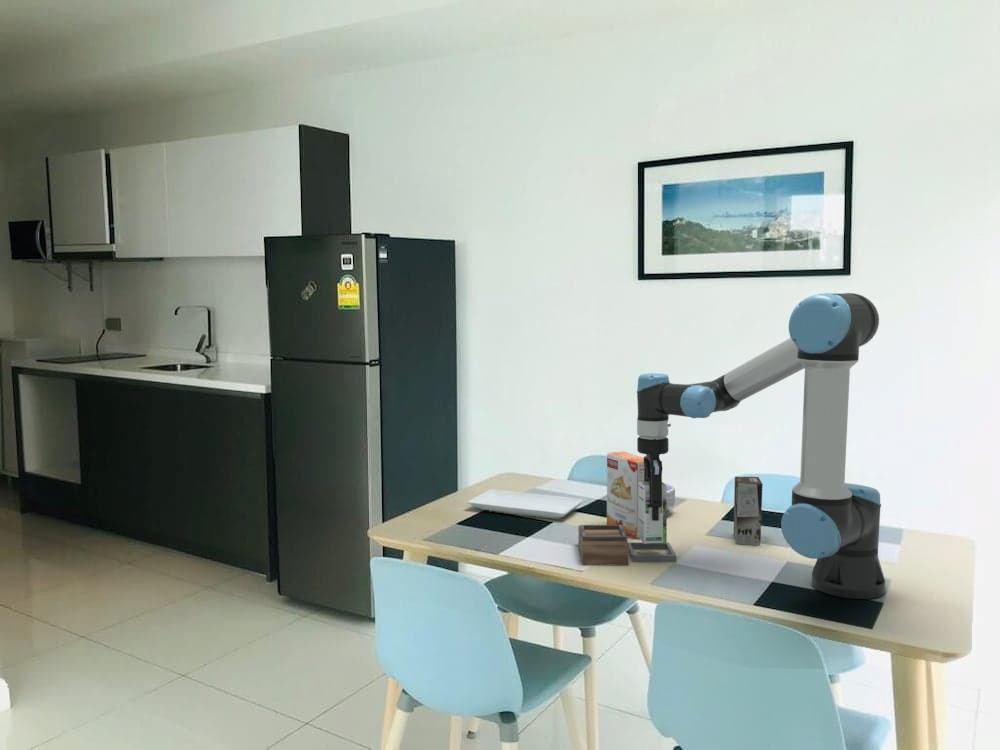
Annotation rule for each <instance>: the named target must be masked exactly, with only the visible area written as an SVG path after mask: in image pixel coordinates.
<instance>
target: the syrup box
mask: <svg viewBox="0 0 1000 750" xmlns="http://www.w3.org/2000/svg"><path fill="white" fill-rule="evenodd" d="M665 484H666V483H665ZM665 484H664V481H662V507H661V518H660V533H649V507H647V505H650V493H649V482H639V539H640V541H641V542H643V543H644V544H648V543H666V542H667V543H668V540H667V539H668V538H667V537H668V536H667V533H668V532H667V529H668V528H667V525H668V524H667V523H668V522H667V518H668V517H667V515H668V514H667V512H668V510H667V487H666V485H665ZM655 502H658V501H655Z"/></svg>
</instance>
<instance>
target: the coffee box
mask: <svg viewBox="0 0 1000 750" xmlns="http://www.w3.org/2000/svg"><path fill="white" fill-rule="evenodd" d="M733 491H734V496H733V497H734V499H733V537H734V541H735V544H736V545H752V546H761V536H762V509H763V507H762V506H763V482H762V480H761V479H760V477H759V476H734V490H733Z"/></svg>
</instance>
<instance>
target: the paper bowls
mask: <svg viewBox="0 0 1000 750" xmlns="http://www.w3.org/2000/svg"><path fill="white" fill-rule="evenodd" d="M663 483H664V482H663ZM664 484H665V485H666V487H667V511H668V510H669V508H671V507H673V506H674V505H676V488H675V487H674V486H673V485H671V484H669V483H664Z"/></svg>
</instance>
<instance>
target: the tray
mask: <svg viewBox="0 0 1000 750" xmlns="http://www.w3.org/2000/svg"><path fill="white" fill-rule="evenodd" d="M584 501H585V500H584V499H582V498H577V497H568V496H561V495H560V496H559V495H550V494H539V493H531V492H521V491H512V490H504V489H495V488H491V489H488V490H486V491H485V492H482V493H481V494H479V495H476V496H475V497H472V498H471V499H469V500H468V501H467V504H468V505H470V506H472V507H474V508H476V509H479V510H480V509H481V511H484V510H489V511H488V512H492V511H497V512H496V513H501V512H505V513H504V514H509V513H513V514H512V515H517V514H521V515H520V516H525V515H529V516H528V517H533V516H536V517H535V518H541V517H543V518H542V519H548V518H551V519H550V520H560V519H562V518H564V517H565V516H566V515H567V514H569V513H570V512H571V511H573V510H575V509H577V507H579V506H580V505H581V504H583V503H584ZM561 517H562V518H561Z"/></svg>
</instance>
